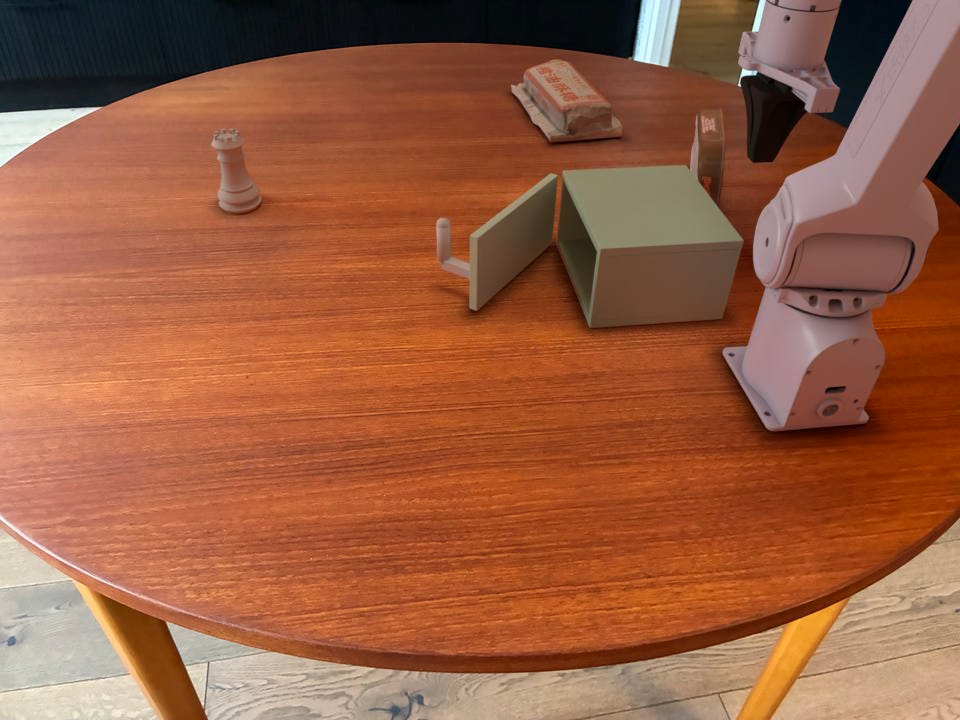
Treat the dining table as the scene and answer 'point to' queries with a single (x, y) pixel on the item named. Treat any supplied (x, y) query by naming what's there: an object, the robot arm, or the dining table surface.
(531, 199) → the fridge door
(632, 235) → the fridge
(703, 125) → the tin
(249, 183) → the rook chess piece
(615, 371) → the dining table surface
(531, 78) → the packaged product
